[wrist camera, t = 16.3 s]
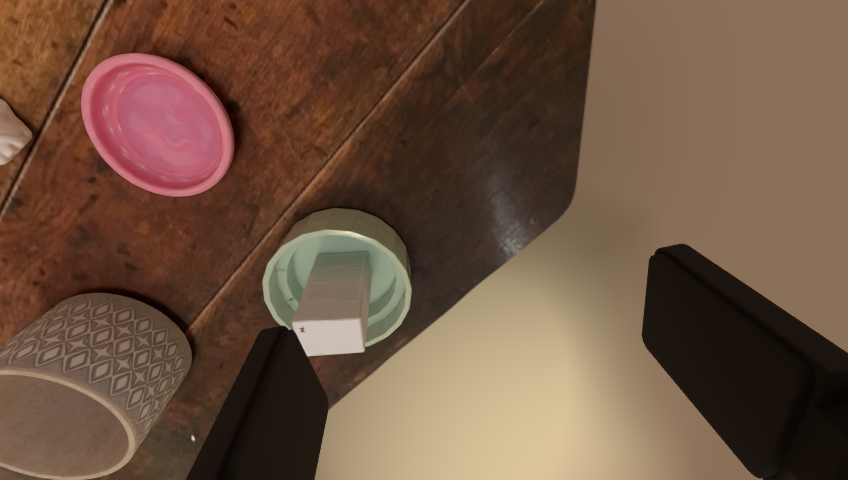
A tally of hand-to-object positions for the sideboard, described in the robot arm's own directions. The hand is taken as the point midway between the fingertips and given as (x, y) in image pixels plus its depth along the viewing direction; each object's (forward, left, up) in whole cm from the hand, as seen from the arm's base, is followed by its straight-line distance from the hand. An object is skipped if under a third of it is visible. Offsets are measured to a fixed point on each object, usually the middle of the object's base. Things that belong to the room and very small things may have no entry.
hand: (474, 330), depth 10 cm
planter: (+42, +18, -31) cm, 55 cm away
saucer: (+23, -5, -31) cm, 39 cm away
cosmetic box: (+12, +14, -30) cm, 35 cm away
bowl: (+12, +14, -30) cm, 35 cm away
